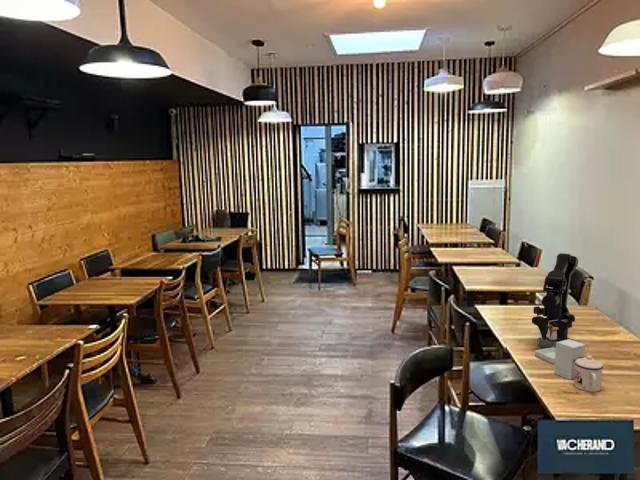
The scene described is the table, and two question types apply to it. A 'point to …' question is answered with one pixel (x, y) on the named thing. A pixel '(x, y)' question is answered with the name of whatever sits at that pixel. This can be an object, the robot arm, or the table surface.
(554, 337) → the pin
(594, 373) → the teacup with lid
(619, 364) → the table surface
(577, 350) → the supplement box
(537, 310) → the robot arm
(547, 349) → the tray
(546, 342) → the bracket
